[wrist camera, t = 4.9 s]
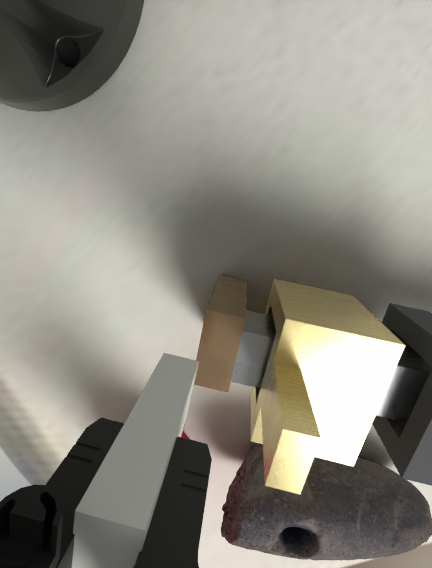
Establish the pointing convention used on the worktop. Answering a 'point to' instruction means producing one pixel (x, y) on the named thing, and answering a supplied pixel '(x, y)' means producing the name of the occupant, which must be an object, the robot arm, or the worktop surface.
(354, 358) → the sleeve
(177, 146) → the worktop surface
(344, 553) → the perforated stone tool
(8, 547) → the robot arm
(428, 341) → the ring
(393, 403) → the bar clamp
